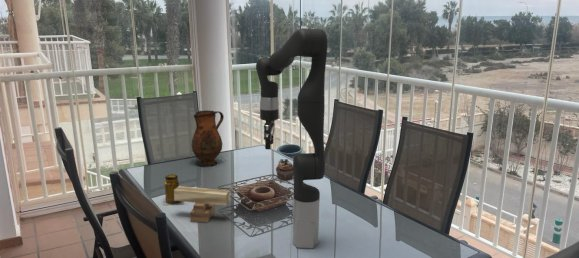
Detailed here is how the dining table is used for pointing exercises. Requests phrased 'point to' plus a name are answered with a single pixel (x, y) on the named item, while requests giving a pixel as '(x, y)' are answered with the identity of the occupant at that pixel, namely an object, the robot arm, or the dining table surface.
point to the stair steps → (201, 212)
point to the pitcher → (207, 138)
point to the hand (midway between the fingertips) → (269, 146)
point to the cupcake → (284, 170)
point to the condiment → (171, 189)
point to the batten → (202, 195)
